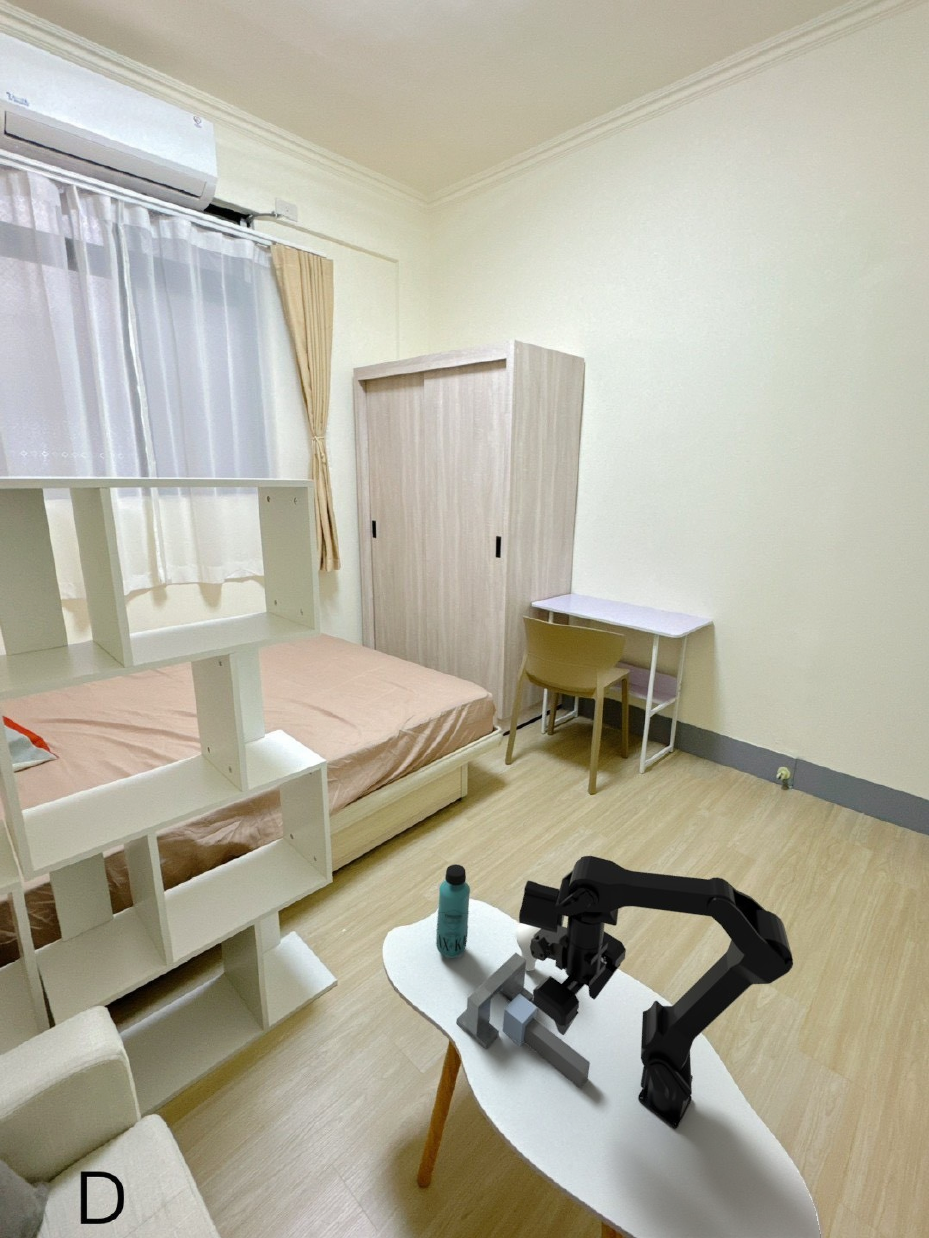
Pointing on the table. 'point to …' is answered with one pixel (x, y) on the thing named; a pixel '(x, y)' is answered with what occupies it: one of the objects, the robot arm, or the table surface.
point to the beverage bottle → (453, 912)
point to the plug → (543, 1040)
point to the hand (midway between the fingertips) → (577, 1014)
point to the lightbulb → (526, 943)
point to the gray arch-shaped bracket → (479, 1002)
